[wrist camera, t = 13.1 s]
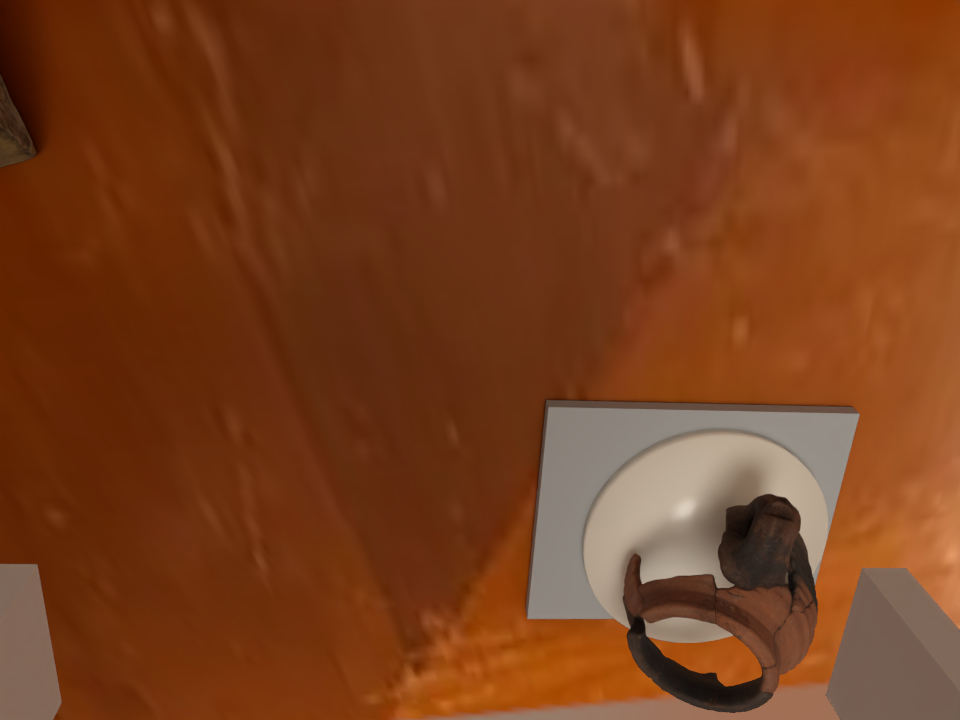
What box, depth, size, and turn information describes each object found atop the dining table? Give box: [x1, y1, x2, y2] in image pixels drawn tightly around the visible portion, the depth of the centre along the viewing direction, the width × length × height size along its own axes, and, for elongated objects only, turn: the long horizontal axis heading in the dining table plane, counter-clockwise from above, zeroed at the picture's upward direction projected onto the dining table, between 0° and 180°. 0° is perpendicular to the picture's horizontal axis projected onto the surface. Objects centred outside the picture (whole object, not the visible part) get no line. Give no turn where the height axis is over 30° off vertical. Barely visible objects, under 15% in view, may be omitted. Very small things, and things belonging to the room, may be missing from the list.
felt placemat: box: [526, 400, 860, 619], centre depth 45 cm, size 16×13×1 cm
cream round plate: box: [582, 429, 828, 643], centre depth 45 cm, size 13×13×1 cm
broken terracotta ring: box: [623, 494, 818, 713], centre depth 42 cm, size 12×10×8 cm
